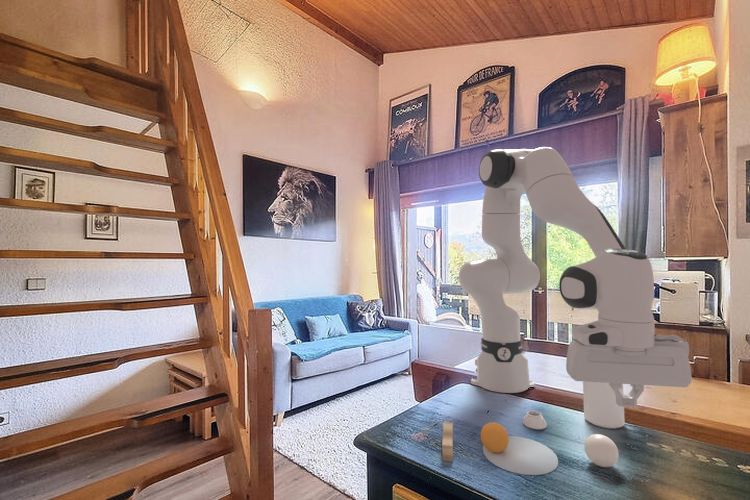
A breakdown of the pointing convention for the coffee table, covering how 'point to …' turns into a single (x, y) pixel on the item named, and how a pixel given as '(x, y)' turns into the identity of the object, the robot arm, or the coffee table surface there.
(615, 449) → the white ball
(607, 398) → the beverage can
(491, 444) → the orange ball
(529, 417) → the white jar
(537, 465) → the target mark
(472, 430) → the coffee table surface
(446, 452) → the wall
